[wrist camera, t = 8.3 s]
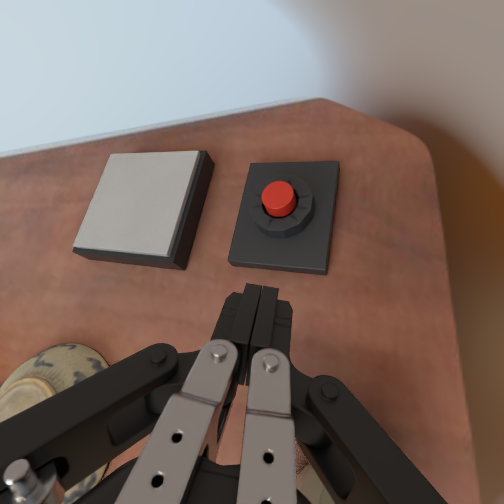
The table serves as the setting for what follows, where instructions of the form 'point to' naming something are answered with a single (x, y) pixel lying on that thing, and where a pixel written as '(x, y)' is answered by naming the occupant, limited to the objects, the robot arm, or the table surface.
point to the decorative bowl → (52, 389)
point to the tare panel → (287, 219)
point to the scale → (146, 209)
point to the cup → (312, 486)
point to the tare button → (279, 199)
